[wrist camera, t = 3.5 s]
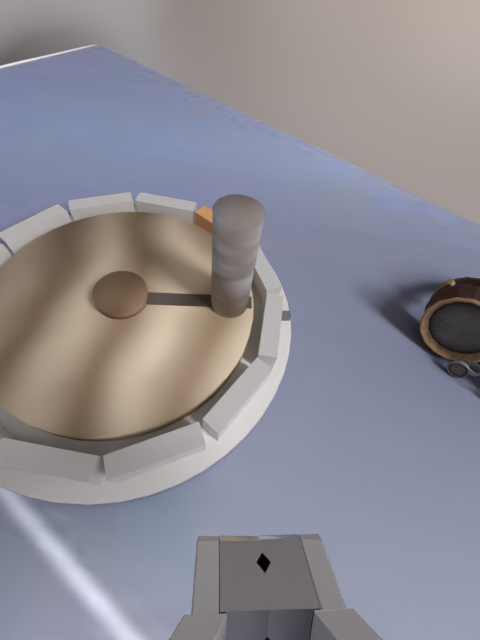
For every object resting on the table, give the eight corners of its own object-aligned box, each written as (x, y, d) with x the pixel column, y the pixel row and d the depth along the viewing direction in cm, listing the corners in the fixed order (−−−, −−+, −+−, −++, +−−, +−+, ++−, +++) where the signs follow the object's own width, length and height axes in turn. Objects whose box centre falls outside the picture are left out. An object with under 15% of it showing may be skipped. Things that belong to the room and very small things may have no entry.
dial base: (-148, 508, 18) (-221, 507, 15) (23, 207, 33) (4, 176, 30) (306, 501, 21) (323, 500, 17) (274, 223, 36) (281, 196, 32)
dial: (-77, 441, 19) (-327, 379, 10) (38, 217, 30) (-32, 95, 21) (256, 442, 21) (293, 389, 12) (247, 230, 32) (263, 122, 23)
